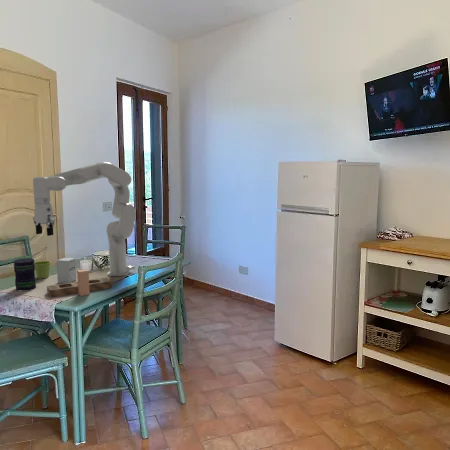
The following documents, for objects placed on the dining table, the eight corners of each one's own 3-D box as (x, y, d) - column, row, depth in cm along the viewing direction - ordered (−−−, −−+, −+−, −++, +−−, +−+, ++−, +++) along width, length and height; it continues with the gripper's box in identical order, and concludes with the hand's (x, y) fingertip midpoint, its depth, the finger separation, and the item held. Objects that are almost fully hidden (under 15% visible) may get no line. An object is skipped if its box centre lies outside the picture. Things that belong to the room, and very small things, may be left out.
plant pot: (30, 279, 235) (29, 264, 234) (41, 274, 244) (40, 260, 243) (44, 280, 233) (43, 264, 232) (55, 275, 242) (54, 261, 241)
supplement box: (69, 283, 225) (68, 260, 224) (57, 282, 227) (55, 260, 225) (76, 279, 232) (75, 257, 231) (65, 279, 234) (63, 257, 232)
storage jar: (16, 287, 219) (13, 259, 217) (36, 284, 223) (34, 257, 221) (15, 292, 210) (12, 263, 208) (36, 289, 214) (34, 261, 212)
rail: (106, 283, 224) (106, 277, 224) (111, 287, 217) (111, 281, 216) (47, 292, 209) (46, 286, 208) (50, 297, 201) (50, 290, 200)
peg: (87, 292, 209) (86, 269, 207) (89, 294, 205) (88, 270, 204) (78, 293, 207) (77, 270, 205) (80, 295, 203) (79, 272, 201)
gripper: (59, 201, 209) (61, 235, 211) (39, 200, 219) (41, 232, 221) (45, 202, 203) (47, 237, 205) (25, 201, 212) (28, 234, 215)
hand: (44, 234), depth 213 cm, fingers open, 9 cm apart
